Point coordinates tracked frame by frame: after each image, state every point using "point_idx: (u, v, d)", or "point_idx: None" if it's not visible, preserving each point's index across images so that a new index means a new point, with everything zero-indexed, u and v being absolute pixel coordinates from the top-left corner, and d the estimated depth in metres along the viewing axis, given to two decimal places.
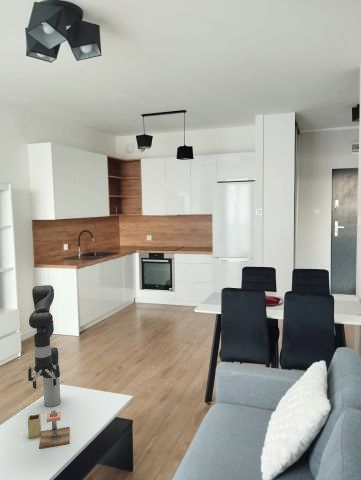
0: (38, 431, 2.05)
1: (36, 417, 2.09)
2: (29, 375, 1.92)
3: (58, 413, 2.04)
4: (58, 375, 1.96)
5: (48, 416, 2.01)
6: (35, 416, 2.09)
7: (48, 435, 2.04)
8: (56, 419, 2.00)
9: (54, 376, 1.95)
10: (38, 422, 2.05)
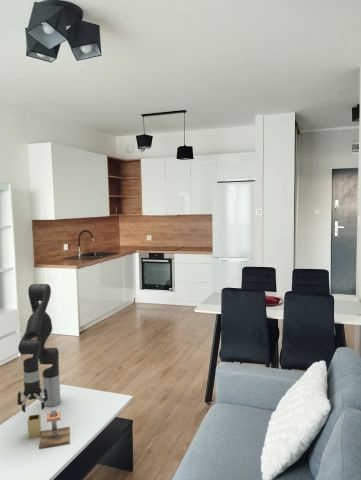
0: (38, 431, 2.05)
1: (36, 417, 2.09)
2: (18, 399, 2.03)
3: (58, 413, 2.04)
4: (46, 399, 2.07)
5: (48, 416, 2.01)
6: (35, 416, 2.09)
7: (48, 435, 2.04)
8: (56, 419, 2.00)
9: (42, 400, 2.06)
10: (38, 422, 2.05)
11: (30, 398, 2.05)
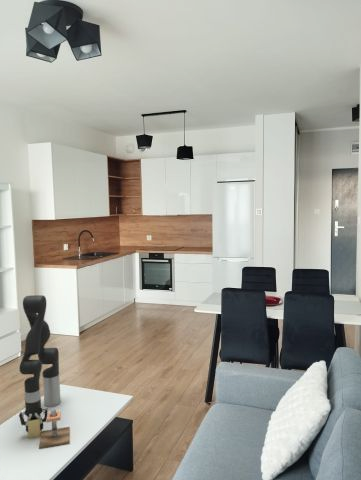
0: (38, 431, 2.05)
1: None
2: (21, 420, 2.04)
3: (58, 413, 2.04)
4: (45, 420, 2.07)
5: (48, 416, 2.01)
6: None
7: (48, 435, 2.04)
8: (56, 419, 2.00)
9: (41, 421, 2.07)
10: (38, 422, 2.05)
11: (32, 417, 2.06)
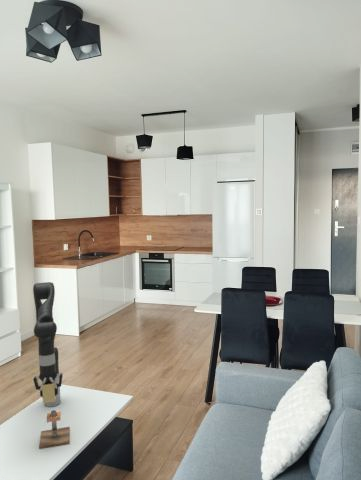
0: (53, 396, 1.99)
1: None
2: (35, 384, 1.99)
3: (58, 413, 2.04)
4: (59, 385, 2.02)
5: (48, 416, 2.01)
6: None
7: (48, 435, 2.04)
8: (56, 419, 2.00)
9: (56, 385, 2.01)
10: (53, 386, 1.99)
11: (47, 381, 2.00)
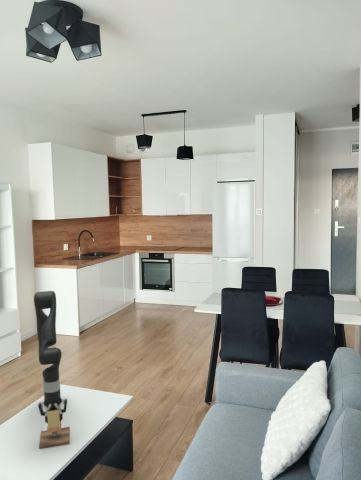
0: (58, 422, 2.00)
1: None
2: (40, 410, 2.00)
3: None
4: (64, 410, 2.02)
5: None
6: None
7: (48, 435, 2.04)
8: (57, 429, 2.00)
9: (60, 411, 2.02)
10: (58, 413, 2.00)
11: (52, 407, 2.01)
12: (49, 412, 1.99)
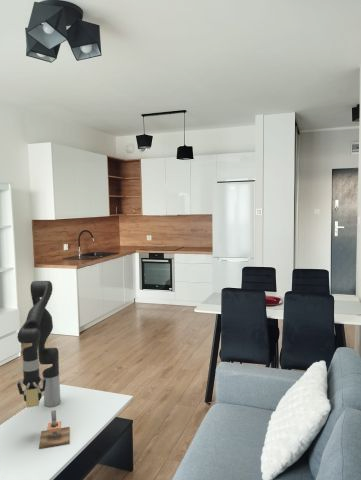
0: (36, 400, 2.04)
1: None
2: (19, 389, 2.03)
3: (59, 423, 2.05)
4: (43, 389, 2.06)
5: (49, 426, 2.02)
6: None
7: (48, 435, 2.04)
8: (57, 429, 2.00)
9: (39, 390, 2.06)
10: (36, 391, 2.04)
11: (30, 386, 2.05)
12: (28, 391, 2.03)
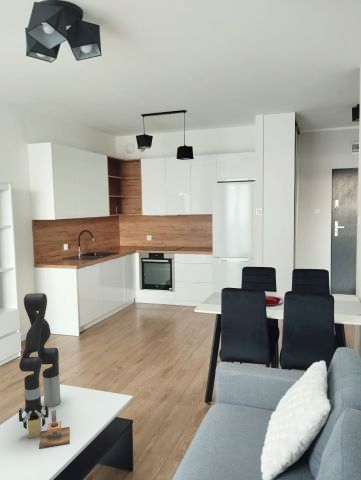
0: (38, 431, 2.05)
1: (36, 417, 2.09)
2: (20, 416, 2.04)
3: (59, 423, 2.05)
4: (47, 415, 2.07)
5: (49, 426, 2.02)
6: (35, 416, 2.09)
7: (48, 435, 2.04)
8: (57, 429, 2.00)
9: (43, 416, 2.07)
10: (38, 422, 2.05)
11: (31, 415, 2.06)
12: (30, 422, 2.04)
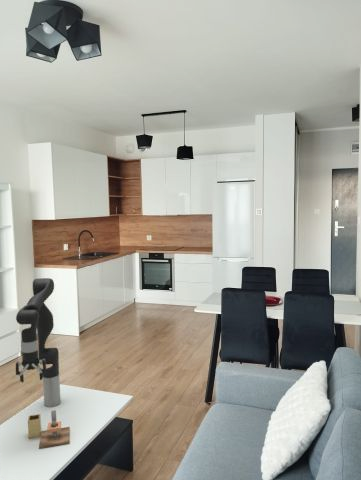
0: (38, 431, 2.05)
1: (36, 417, 2.09)
2: (16, 369, 2.02)
3: (59, 423, 2.05)
4: (44, 369, 2.05)
5: (49, 426, 2.02)
6: (35, 416, 2.09)
7: (48, 435, 2.04)
8: (57, 429, 2.00)
9: (40, 370, 2.05)
10: (38, 422, 2.05)
11: (28, 368, 2.04)
12: (30, 422, 2.04)
